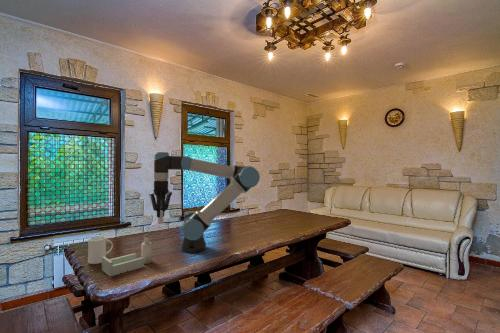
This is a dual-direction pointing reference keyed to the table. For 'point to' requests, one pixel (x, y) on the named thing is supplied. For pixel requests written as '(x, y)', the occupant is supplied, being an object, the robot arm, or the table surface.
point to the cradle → (121, 264)
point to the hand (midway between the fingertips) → (160, 222)
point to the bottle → (146, 249)
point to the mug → (97, 249)
